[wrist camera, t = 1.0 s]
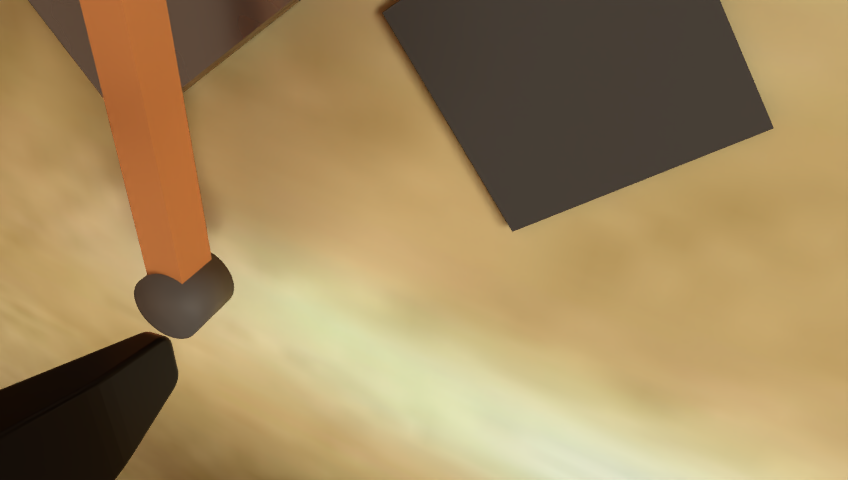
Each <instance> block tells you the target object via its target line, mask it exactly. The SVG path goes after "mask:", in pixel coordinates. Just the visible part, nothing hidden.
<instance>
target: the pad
mask: <svg viewBox="0 0 848 480" xmlns="http://www.w3.org/2000/svg"><path fill="white" fill-rule="evenodd" d="M383 15H384V17H385V18H386V20H387V22H388V23H389V25H390V27H391V29H392V30H393V32H394V34H395V35H396V37H397V39H398V40H399V42H400V44H401V45H402V47H403V49H404V50H405V52H406V54H407V55H408V57H409V59H410V60H411V62H412V64H413V65H414V67H415V69H416V71H417V72H418V74H419V76H420V77H421V79H422V81H423V82H424V84H425V86H426V87H427V89H428V91H429V92H430V94H431V96H432V97H433V99H434V101H435V102H436V104H437V106H438V107H439V109H440V111H441V113H442V114H443V116H444V118H445V119H446V121H447V123H448V124H449V126H450V128H451V129H452V131H453V133H454V134H455V136H456V138H457V139H458V141H459V143H460V144H461V146H462V148H463V149H464V151H465V153H466V154H467V156H468V158H469V160H470V161H471V163H472V165H473V166H474V168H475V170H476V171H477V173H478V175H479V176H480V178H481V180H482V181H483V183H484V185H485V186H486V188H487V190H488V191H489V193H490V195H491V196H492V198H493V200H494V202H495V203H496V205H497V207H498V208H499V210H500V212H501V213H502V215H503V217H504V218H505V220H506V222H507V223H508V225H509V227H510V228H511V230H512V232H513V231H515V230H518V229H520V228H523V227H525V226H528V225H530V224H533V223H535V222H538V221H541V220H543V219H546V218H548V217H551V216H553V215H556V214H558V213H561V212H563V211H566V210H568V209H571V208H573V207H576V206H578V205H581V204H583V203H586V202H589V201H591V200H594V199H596V198H599V197H601V196H604V195H606V194H609V193H611V192H614V191H616V190H619V189H621V188H624V187H626V186H629V185H631V184H634V183H637V182H639V181H642V180H644V179H647V178H649V177H652V176H654V175H657V174H659V173H662V172H664V171H667V170H669V169H672V168H674V167H677V166H679V165H682V164H685V163H687V162H690V161H692V160H695V159H697V158H700V157H702V156H705V155H707V154H710V153H712V152H715V151H717V150H720V149H722V148H725V147H727V146H730V145H733V144H735V143H738V142H740V141H743V140H745V139H748V138H750V137H753V136H755V135H758V134H760V133H763V132H765V131H768V130H770V129H773V125H772V123H771V121H770V118H769V116H768V114H767V111H766V109H765V106H764V104H763V102H762V99H761V97H760V95H759V92H758V90H757V88H756V85H755V83H754V80H753V78H752V76H751V73H750V71H749V69H748V66H747V64H746V61H745V59H744V57H743V54H742V52H741V50H740V47H739V45H738V42H737V40H736V38H735V35H734V33H733V31H732V28H731V26H730V23H729V21H728V19H727V16H726V14H725V12H724V9H723V7H722V4H721V2H720V0H400V1H398V2H397V3H396V4H394V5H393V6H391V7H390V8H388V9H387V10H386V11H384V12H383Z"/></svg>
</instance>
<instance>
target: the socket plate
mask: <svg viewBox="0 0 848 480" xmlns="http://www.w3.org/2000/svg"><path fill="white" fill-rule="evenodd" d="M28 1H29V2H30V3H31V5H32V6H33V7H34V9H35V10H36V11H37V12H38V14H39V15H40V16H41V18H42V19H43V20H44V22H45V23H46V24H47V25H48V27H49V28H50V29H51V31H52V32H53V33H54V35H55V36H56V37H57V38H58V40H59V41H60V42H61V44H62V45H63V46H64V48H65V49H66V50H67V51H68V53H69V54H70V55H71V57H72V58H73V59H74V61H75V62H76V63H77V64H78V66H79V67H80V68H81V70H82V71H83V72H84V73H85V75H86V76H87V77H88V79H89V80H90V81H91V83H92V84H93V85H94V86H95V88H96V89H97V90H98V92H99V93H100V94H101V96H102V97H103V94H102V90H101V86H100V82H99V78H98V74H97V70H96V66H95V61H94V57H93V53H92V49H91V45H90V41H89V37H88V33H87V29H86V25H85V21H84V17H83V13H82V9H81V5H80V1H79V0H28ZM299 1H300V0H166V2H167V8H168V14H169V19H170V25H171V31H172V36H173V42H174V48H175V53H176V59H177V65H178V70H179V76H180V82H181V87H182V93H183V92H184V91H186V90H187V89H188V88H189V87H191V86H192V85H193V84H195V83H196V82H197V81H198V80H200V79H201V78H202V77H203V76H205V75H206V74H207V73H209V72H210V71H211V70H212V69H214V68H215V67H216V66H217V65H219V64H220V63H221V62H223V61H224V60H225V59H226V58H228V57H229V56H230V55H231V54H233V53H234V52H235V51H237V50H238V49H239V48H240V47H242V46H243V45H244V44H245V43H247V42H248V41H249V40H251V39H252V38H253V37H254V36H256V35H257V34H258V33H259V32H261V31H262V30H263V29H264V28H266V27H267V26H268V25H270V24H271V23H272V22H273V21H275V20H276V19H277V18H278V17H280V16H281V15H282V14H284V13H285V12H286V11H287V10H289V9H290V8H291V7H292V6H294V5H295V4H296V3H298V2H299Z"/></svg>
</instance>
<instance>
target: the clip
mask: <svg viewBox="0 0 848 480" xmlns="http://www.w3.org/2000/svg"><path fill="white" fill-rule="evenodd" d="M79 1H80V5H81V9H82V13H83V17H84V21H85V25H86V29H87V33H88V37H89V41H90V45H91V49H92V53H93V57H94V61H95V66H96V70H97V74H98V78H99V82H100V86H101V90H102V94H103V98H104V102H105V106H106V110H107V114H108V118H109V122H110V126H111V130H112V134H113V138H114V142H115V146H116V150H117V154H118V158H119V162H120V166H121V171H122V175H123V179H124V183H125V187H126V191H127V195H128V199H129V203H130V207H131V211H132V215H133V219H134V223H135V227H136V231H137V235H138V239H139V243H140V247H141V251H142V255H143V259H144V263H145V267H146V271H147V276H145V277H144V278H143V279H141V280H140V281H139V282H138V283H137V284H136V286H135V290H134V297H135V301H136V304H137V307H138V309H139V311H140V312H141V314H142V315H143V317H144V318H145V319H146V320H147V321H148V322H149V323H150V324H151V325H152V326H153V327H154V328H156V329H157V330H158V331H160V332H162V333H163V334H165V335H168V336H170V337H173V338H179V339H185V338H189V337H191V336H193V335H194V334H195V333H196V332H197V331H198V330H199V329H200V328H201V327H202V326H203V325H204V324H205V323H206V322H207V321H208V320H209V319H210V318H211V317H212V316H213V315H214V314H215V313H216V312H217V311H218V310H219V309H220V308H221V307H222V306H223V305H224V304H225V303H226V302H227V301H228V300H229V299H230V298H231V297H232V295H233V291H234V283H233V279H232V276H231V274H230V272H229V270H228V269H227V267H226V266H225V265H224V263H223V262H222V261H221V260H220V259H219V258H218V257H217V256H215V255H214V254H212V253H211V252H210V246H209V241H208V235H207V229H206V224H205V218H204V212H203V207H202V201H201V195H200V190H199V184H198V178H197V173H196V167H195V161H194V156H193V150H192V144H191V139H190V133H189V127H188V122H187V116H186V110H185V105H184V99H183V93H182V87H181V82H180V76H179V70H178V65H177V59H176V53H175V48H174V42H173V36H172V31H171V25H170V19H169V14H168V8H167V2H166V0H79Z"/></svg>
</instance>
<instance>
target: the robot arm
mask: <svg viewBox="0 0 848 480" xmlns="http://www.w3.org/2000/svg"><path fill="white" fill-rule="evenodd" d="M177 380H178V368H177V364H176V360H175V355H174V351H173V346H172V343H171V341H170V340H169V338H167V337H166V336H162V335H159V334H155V333H152V332H143V333H140V334H138V335H135V336H133V337H130V338H128V339H125V340H123V341H120V342H118V343H115V344H113V345H110V346H108V347H105V348H103V349H100V350H98V351H95V352H93V353H90V354H88V355H85V356H83V357H80V358H78V359H76V360H73V361H71V362H68V363H66V364H63V365H61V366H58V367H56V368H53V369H51V370H48V371H46V372H43V373H41V374H38V375H36V376H33V377H31V378H28V379H26V380H23V381H21V382H18V383H16V384H13V385H11V386H8V387H6V388H4V389H1V390H0V480H115V479H116V478H117V476H118V475H119V473H120V472H121V471H122V469H123V468H124V467H125V465H126V464H127V462H128V461H129V459H130V458H131V456H132V455H133V453H134V452H135V450H136V448H137V447H138V445H139V444H140V442H141V440H142V439H143V437H144V436H145V434H146V432H147V431H148V429H149V428H150V426H151V424H152V423H153V421H154V420H155V418H156V417H157V415H158V413H159V412H160V410H161V409H162V407H163V405H164V404H165V402H166V401H167V399H168V397H169V396H170V394H171V393H172V391H173V389H174V388H175V386H176V383H177Z"/></svg>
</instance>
